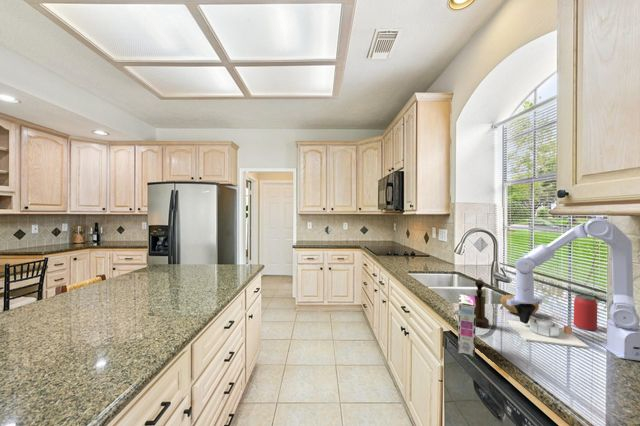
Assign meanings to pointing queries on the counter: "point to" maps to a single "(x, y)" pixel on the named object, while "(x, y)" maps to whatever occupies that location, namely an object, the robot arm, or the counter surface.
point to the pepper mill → (480, 306)
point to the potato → (512, 308)
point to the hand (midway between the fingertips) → (524, 322)
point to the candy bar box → (467, 325)
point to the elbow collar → (543, 328)
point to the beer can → (585, 312)
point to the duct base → (563, 338)
